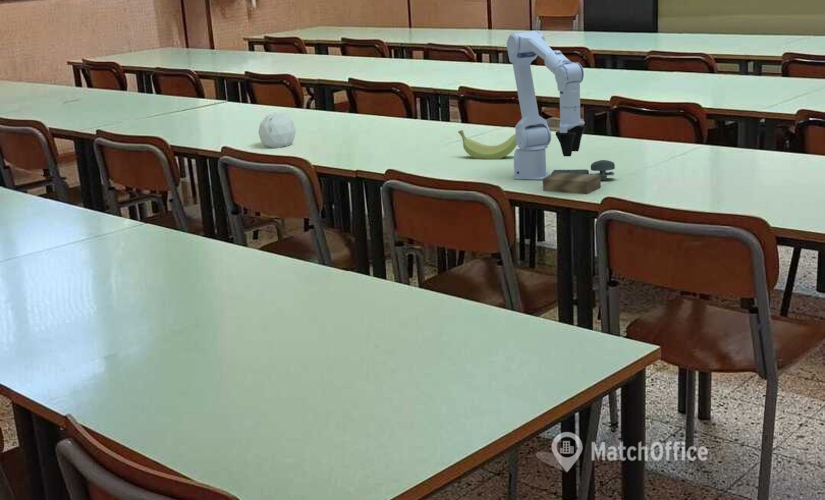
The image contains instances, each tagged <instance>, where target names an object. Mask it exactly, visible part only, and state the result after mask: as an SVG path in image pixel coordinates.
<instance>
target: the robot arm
mask: <svg viewBox="0 0 825 500" xmlns="http://www.w3.org/2000/svg"><path fill="white" fill-rule="evenodd" d="M506 49H507V54H508V55H507V56H508V59H509V62H510V63H511V64H512V68H513V69H512V70H513V72H514V73H513V75H514V79H515V85H516V90H517V91H516V92H517V98H518V102H519V107H520V109H519V110H520V113H521V114H520V115H521V119H520V120H519V121H518V122H517V123H516V124H515V126H514V129H515V134H516V135H515V140H516V144H517V146H516V147H518V148H516V149H514V150H515V151H514V154H513V173H514V176H513V179H514V180H533V181H534V180H537V181H539V180H540V181H543V178H545V177H547V176H550V175H551V172H547V161H546V160H547V156H546V155H547V153H546V152H547V151H546V149H548V147H549V145H550V144H551V141H552V132H551V129H550V128H549V125H548V122H547V121H548V120H547V119H545V118H543V117H542V116H540V114H539V108H538V103H537V97H536V92H535V86H534V81H533V74H532V69H531V64H532V62H533V61H534V60H536V58H537V57H540V58H541V59H543V61H544V66H545V67H546V68H547V69H548V70H549V71H550V72H551V73H552V74H553V75H554V79H555V82H556V84H557V85H556V86H557V91H559V117H560V118H559V119H560V121H559V130H557V131H556V132H555V136H556V138H557V140H558V142H559V145H560V148H561V152H562V156H563V157H572V154H573V152H579V151H580V147H581V141H582V136H583V133H584V132H585V129H586V125H585V123H586V122H585V121H583V120H582V119H581V83H582V82H583V81H584V78H585V72H584V68H583V66H582V65H581V63H580V62H578V61H577V62H575V61H574V62H573V61H571V60H570V59H569V58H567V57H566V56H565V55H564V54H563V53H562V51H561V50H553V49H552V48H551V46H549V45H548V44H547V42H546V41H545V35H544V34H543V32H541V31H540V30H533V31H524V32H511V33H510V34H509V36H508V38H507V41H506Z"/></svg>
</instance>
